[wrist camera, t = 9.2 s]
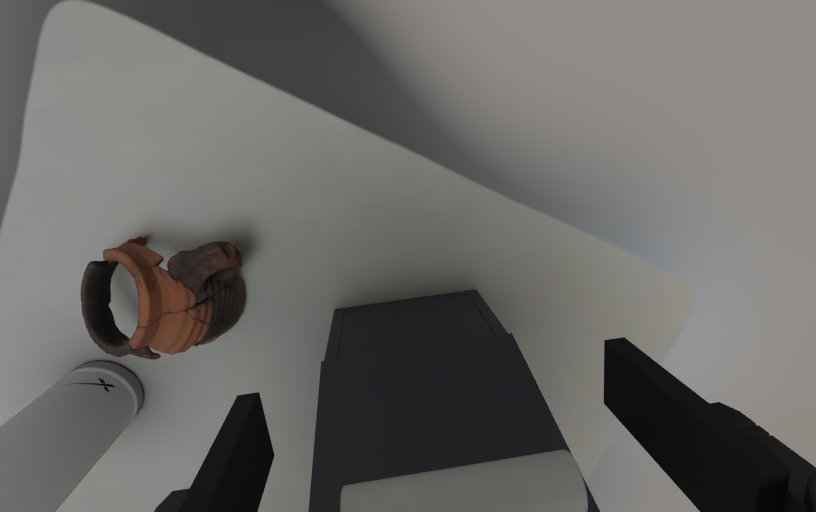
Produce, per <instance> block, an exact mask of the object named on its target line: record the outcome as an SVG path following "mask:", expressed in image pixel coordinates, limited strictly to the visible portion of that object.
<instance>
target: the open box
mask: <svg viewBox="0 0 816 512" xmlns="http://www.w3.org/2000/svg"><path fill="white" fill-rule="evenodd" d="M503 334H508V333H507V332H506V330H505V329H504V327H503V326H502V325H501V323H500V322H499V320H498V319H497V318H496V316H495V315H494V313H493V312H492V311H491V309H490V308H489V306H488V305H487V304H486V302H485V301H484V299H483V298H482V297H481V295H480V294H479V293H478V291H477V290H470V291H463V292H456V293H449V294H442V295H435V296H428V297H421V298H413V299H406V300H399V301H392V302H385V303H378V304H371V305H364V306H357V307H350V308H343V309H336V310H334V315H333V320H332V325H331V330H330V335H329V340H328V345H327V350H326V354H325V359H324V361H327V360H334V359H341V358H348V357H354V356H361V355H368V354H375V353H381V352H388V351H395V350H402V349H409V348H415V347H422V346H429V345H436V344H442V343H449V342H456V341H463V340H469V339H476V338H483V337H490V336H496V335H503Z"/></svg>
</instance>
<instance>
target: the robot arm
mask: <svg viewBox="0 0 816 512" xmlns="http://www.w3.org/2000/svg"><path fill="white" fill-rule="evenodd" d="M604 404H605V405H606V406H607V407H608V408H609V409H610V411H611V412H612V413H613V414H614V415H615V416H616V417H617V418H618V420H619V421H620V422H621V423H622V424H623V425H624V426H625V427H626V429H627V430H628V431H629V432H630V433H631V434H632V435H633V436H634V438H635V439H636V440H637V441H638V442H639V443H640V444H641V445H642V447H643V448H644V449H645V450H646V451H647V452H648V453H649V454H650V456H651V457H652V458H653V459H654V460H655V461H656V462H657V463H658V464H659V466H660V467H661V468H662V469H663V470H664V471H665V472H666V474H667V475H668V476H669V477H670V478H671V479H672V480H673V481H674V483H675V484H676V485H677V486H678V487H679V488H680V489H681V490H682V491H683V493H684V494H685V495H686V496H687V497H688V498H689V499H690V501H691V502H692V503H693V504H694V505H695V506H696V507H697V508H698V510H699V511H700V512H816V468H815V467H814V466H813V465H811V464H810V463H809V462H807V461H806V460H805V459H803V458H802V457H801V456H799V455H798V454H797V453H795V452H794V451H793V450H791V449H790V448H788V447H787V446H786V445H784V444H783V443H782V442H780V441H779V440H778V439H776V438H775V437H773V436H770V435H769V433H768V432H766V431H765V430H764V429H763V428H761V427H760V426H756V424H755V423H754V422H753V421H752V420H750V419H749V418H748V417H746V416H745V415H743V414H742V413H741V412H740V411H737V410H735V409H733V408H731V407H729V406H726V405H724V404H722V403H720V402H717V403H711V404H709V403H708V402H706V401H705V400H704V399H702V398H701V397H700V396H699V395H697V394H696V393H695V392H694V391H692V390H691V389H690V388H688V387H687V386H686V385H685V384H683V383H682V382H680V381H679V380H678V379H677V378H676V377H674V376H673V375H672V374H670V373H669V372H668V371H667V370H665V369H664V368H663V367H661V366H660V365H659V364H658V363H656V362H655V361H654V360H652V359H651V358H650V357H649V356H647V355H646V354H645V353H643V352H642V351H641V350H640V349H638V348H637V347H636V346H635V345H633V344H632V343H631V342H629V341H628V340H627V339H626V338H617V339H610V340H605V351H604ZM273 458H274V452H273V448H272V444H271V440H270V436H269V432H268V427H267V423H266V419H265V415H264V411H263V407H262V403H261V399H260V395H259V392H258V393H252V394H245V395H239V396H237V398H236V400H235V402H234V404H233V406H232V407H231V409H230V411H229V413H228V415H227V417H226V419H225V421H224V423H223V425H222V427H221V429H220V431H219V433H218V435H217V437H216V439H215V441H214V443H213V444H212V446H211V448H210V450H209V452H208V454H207V456H206V458H205V460H204V462H203V464H202V466H201V468H200V470H199V472H198V474H197V476H196V478H195V480H194V481H193V483H192V485H191V487H190V489H184V490H178V491H172V492H171V493H170V494H169V495H168V496H167V498H166V499H165V500H164V501H163V502H162V503H161V504H160V505H159V506H158V507H157V508H156V510H155V511H154V512H257V511H258V508H259V505H260V501H261V498H262V495H263V491H264V488H265V485H266V481H267V478H268V475H269V471H270V468H271V465H272V461H273Z"/></svg>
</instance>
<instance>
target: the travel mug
mask: <svg viewBox="0 0 816 512" xmlns="http://www.w3.org/2000/svg"><path fill="white" fill-rule="evenodd" d="M142 404H143V392H142V388H141V385H140V383H139V381H138V380H137V379H136V377H135V376H134V375H133V374H132V373H131V372H130V371H128V370H127V369H125V368H124V367H121V366H119V365H117V364H114V363H110V362H103V361H96V362H89V363H85V364H83V365H80V366H78V367H77V368H75V369H74V370H73V371H71V372H70V373H69V374H68V375H66V376H65V377H64V378H63V379H61V380H60V381H59V382H57V383H56V384H55V385H54V386H52V387H51V388H50V389H48V390H47V391H46V392H45V393H43V394H42V395H41V396H39V397H38V398H37V399H36V400H34V401H33V402H32V403H31V404H29V405H28V406H27V407H25V408H24V409H23V410H22V411H20V412H19V413H18V414H16V415H15V416H14V417H13V418H11V419H10V420H9V421H7V422H6V423H5V424H4V425H2V426H1V427H0V512H55V511H56V510H57V509H58V508H59V506H60V505H61V504H62V503H63V502H64V501H65V499H66V498H67V497H68V496H69V495H70V493H71V492H72V491H73V490H74V489H75V488H76V486H77V485H78V484H79V483H80V482H81V480H82V479H83V478H84V477H85V476H86V474H87V473H88V472H89V471H90V470H91V469H92V467H93V466H94V465H95V464H96V463H97V461H98V460H99V459H100V458H101V457H102V455H103V454H104V453H105V452H106V451H107V450H108V448H109V447H110V446H111V445H112V444H113V442H114V441H115V440H116V439H117V438H118V436H119V435H120V434H121V433H122V432H123V431H124V429H125V428H126V427H127V426H128V424H129V423H130V422H131V421H132V420H133V419H134V417H135V416H136V415H137V414H138V413H139V411H140V409H141V407H142Z"/></svg>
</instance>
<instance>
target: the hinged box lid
mask: <svg viewBox="0 0 816 512" xmlns="http://www.w3.org/2000/svg"><path fill="white" fill-rule="evenodd" d="M309 512H600V511H599V509H598V507H597V505H596V503H595V501H594V499H593V497H592V495H591V492H590V491H589V488H588V486H587V484H586V482H585V480H584V478H583V476H582V474H581V472H580V469H579V467H578V465H577V463H576V461H575V459H574V458H573V456H572V454H571V452H570V450H569V448H568V446H567V444H566V442H565V440H564V438H563V436H562V434H561V432H560V430H559V428H558V426H557V424H556V422H555V420H554V418H553V416H552V414H551V412H550V410H549V407H548V405H547V403H546V401H545V399H544V397H543V395H542V393H541V391H540V389H539V387H538V385H537V383H536V381H535V379H534V377H533V375H532V373H531V371H530V369H529V367H528V365H527V363H526V361H525V359H524V357H523V355H522V353H521V351H520V349H519V347H518V345H517V343H516V341H515V339H514V337H513V335H512V333H510V334H503V335H496V336H490V337H483V338H476V339H469V340H463V341H456V342H449V343H442V344H436V345H429V346H422V347H415V348H409V349H402V350H395V351H388V352H381V353H375V354H368V355H361V356H354V357H348V358H341V359H334V360H327V361H322V362H321V372H320V384H319V396H318V407H317V419H316V431H315V442H314V454H313V466H312V478H311V489H310V501H309Z"/></svg>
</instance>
